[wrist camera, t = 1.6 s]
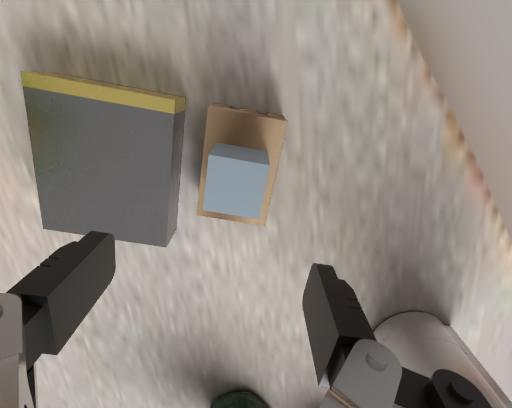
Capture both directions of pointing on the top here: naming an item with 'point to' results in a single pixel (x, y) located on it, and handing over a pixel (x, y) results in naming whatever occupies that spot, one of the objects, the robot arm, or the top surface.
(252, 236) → the top surface
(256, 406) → the coffee jar
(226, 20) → the top surface
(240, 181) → the blue-grey cube
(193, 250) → the top surface
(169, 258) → the top surface
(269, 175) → the pallet
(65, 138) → the dock
